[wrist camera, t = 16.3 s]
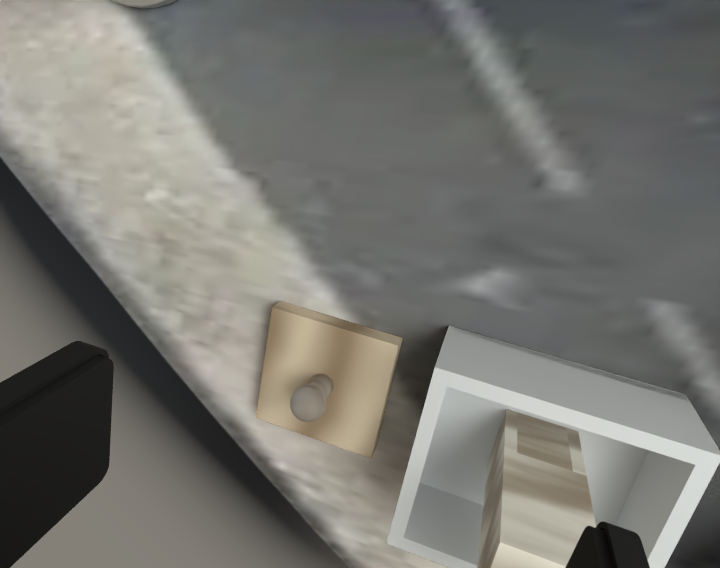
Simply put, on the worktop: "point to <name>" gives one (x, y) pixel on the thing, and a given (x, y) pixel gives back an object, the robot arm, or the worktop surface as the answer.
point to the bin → (561, 407)
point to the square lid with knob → (326, 377)
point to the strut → (533, 495)
